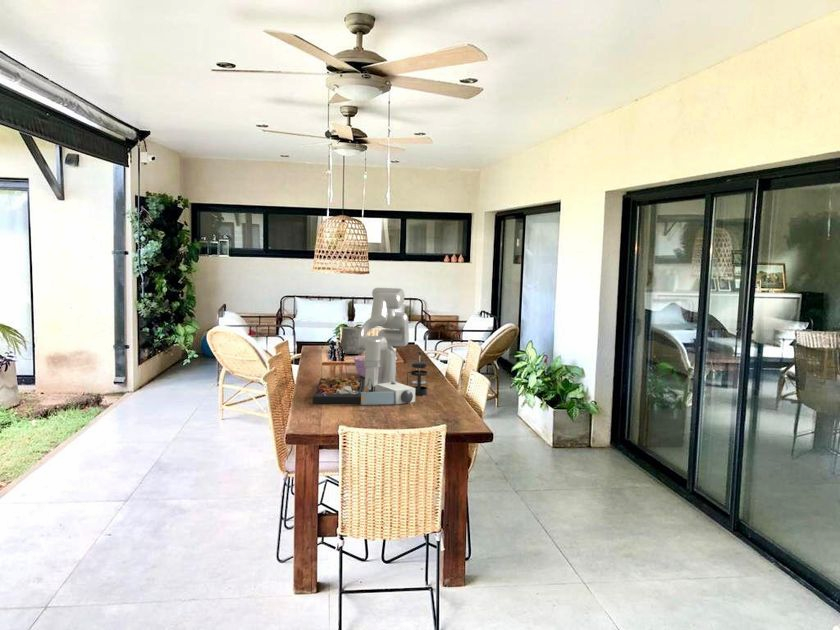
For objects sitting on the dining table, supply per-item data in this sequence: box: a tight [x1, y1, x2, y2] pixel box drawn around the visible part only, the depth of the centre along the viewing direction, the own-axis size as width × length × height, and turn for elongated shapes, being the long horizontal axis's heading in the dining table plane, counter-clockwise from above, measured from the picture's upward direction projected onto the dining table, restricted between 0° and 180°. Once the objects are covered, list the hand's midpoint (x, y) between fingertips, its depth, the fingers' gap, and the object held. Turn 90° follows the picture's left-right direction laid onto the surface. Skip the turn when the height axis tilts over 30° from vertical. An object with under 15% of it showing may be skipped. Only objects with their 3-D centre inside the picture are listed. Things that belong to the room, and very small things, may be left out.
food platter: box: [312, 375, 365, 406], centre depth 332 cm, size 45×25×10 cm, turn 4°
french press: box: [406, 350, 429, 397], centre depth 337 cm, size 12×9×23 cm
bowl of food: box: [353, 355, 379, 379], centre depth 380 cm, size 20×20×12 cm
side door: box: [360, 391, 397, 406], centre depth 310 cm, size 17×2×6 cm, turn 99°
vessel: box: [339, 326, 365, 355], centre depth 462 cm, size 22×22×20 cm
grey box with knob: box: [375, 381, 416, 406], centre depth 323 cm, size 20×12×8 cm, turn 37°
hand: (371, 399), depth 313 cm, fingers closed
